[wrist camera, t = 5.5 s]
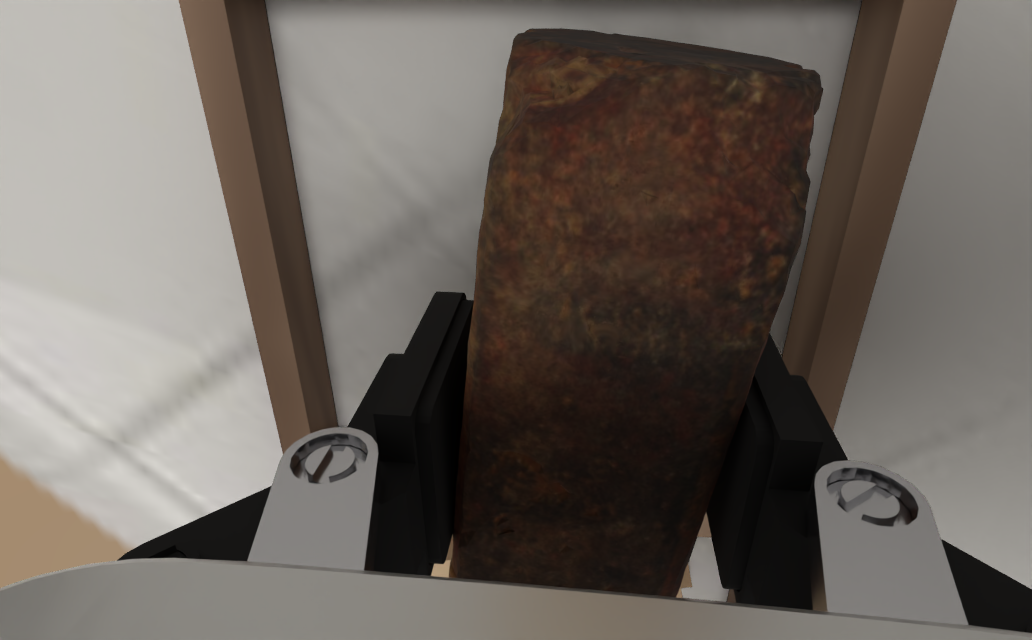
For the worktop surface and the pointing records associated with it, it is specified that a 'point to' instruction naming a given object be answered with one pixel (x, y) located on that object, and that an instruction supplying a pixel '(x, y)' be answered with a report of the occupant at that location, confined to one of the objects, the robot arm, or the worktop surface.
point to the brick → (622, 301)
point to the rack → (827, 263)
